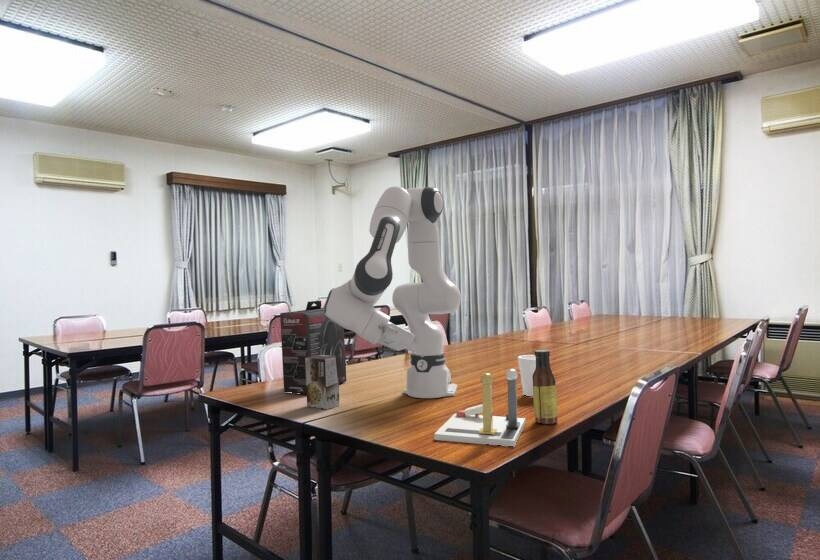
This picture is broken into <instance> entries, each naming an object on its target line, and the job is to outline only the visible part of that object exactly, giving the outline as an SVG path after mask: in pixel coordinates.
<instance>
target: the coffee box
mask: <svg viewBox="0 0 820 560" xmlns="http://www.w3.org/2000/svg"><path fill="white" fill-rule="evenodd" d="M305 364H306V389H307V395H306V407H308V406H311V407H310V408H314V407H316V409H321V408H323V410H329V408H330V409H333V408H336V407H339V406H340V384H339V373H338V356H329V355H314V356H310V357H306V358H305Z"/></svg>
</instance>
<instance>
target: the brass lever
mask: <svg viewBox="0 0 820 560" xmlns="http://www.w3.org/2000/svg"><path fill="white" fill-rule="evenodd" d="M493 382H494V376H493V375H492V374H491V373H488V372H484V373H483V374H481V376H480V383H481V390H482V391H481V395H482V399H481V400H482V404H483V412H482V415H483V428H481V429H480V430H479V433H482V434H494V435H495V434H496V432H497V429H493V418H492V416H493V387H492V386H493V385H492V384H493Z"/></svg>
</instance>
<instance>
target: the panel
mask: <svg viewBox="0 0 820 560" xmlns="http://www.w3.org/2000/svg"><path fill="white" fill-rule="evenodd" d="M465 410H466V409H465ZM465 410H464V409H459V410H456V413H453V415H452V416H450V418H449V419H448V420H447V421H445V422H444V423H443V424H442V425H441V426H440V428H439V429H437V430H436V431H435V432H434V433H433V434H434V435H433V436H434V437H433V439H434V441H444V442H445V441H446V442H456V443H467V444H475V445H477V444H478V445H486V444H489V445H488V446H497V445H501V446H500V447H508V446H513V447H512V448H515V447H516V445H517V443H518V441H519V439H518V438H520V437H519V436H521V435H522V433H521V432H523V430H524V428H525V426H526V424H527V423H526V422H527V421H526V420H527V419H526V418H525V417H517V422H520V425H519V427H518V429H517V428H506V425H507V423H508V413H506V414H505V416H498V415H497V416H496V415H492V418H493V429H497V432H496V434H495V435H494V434H482V433H479V430H480V429H481V428H483V414H480V413H478V414H474V415H470V416H467V417H466V415H465V412H464V411H465ZM525 423H526V424H525ZM524 425H525V426H524ZM523 427H524V428H523ZM520 434H521V435H520ZM517 440H518V441H517ZM516 442H517V443H516Z"/></svg>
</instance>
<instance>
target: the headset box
mask: <svg viewBox="0 0 820 560" xmlns="http://www.w3.org/2000/svg"><path fill="white" fill-rule="evenodd" d="M314 304H315V305H314ZM279 316H280V334H281V335H280V337H281V341H280V342H281V357H282V378H283V379H282V381H283V393H284V392H292V393H300V394H299V395H301V394H307V389H306V364H305V358H306V357H310V356H314V355H329V356H338V373H339V385H340V384H344V383H345V382H347V366H346V365H347V363H346V362H347V361H346V344H345V342H346V341H345V328H343V327H342V326H340V325H338V324H337V323H335V322H334V321H332V320H331V319H329V318H328V317H327V316H326V315H325V313H324V307H322V300H312V301H307V304H306V307H305V310H304V309H301V310H296V311H295V310H294V311H286V312H280V313H279Z"/></svg>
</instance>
